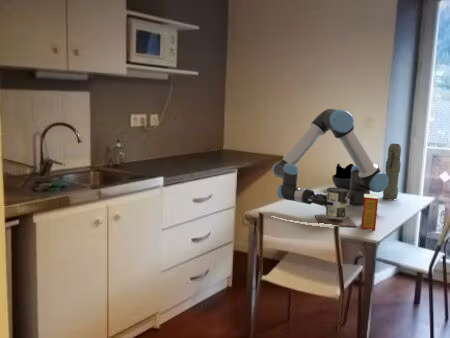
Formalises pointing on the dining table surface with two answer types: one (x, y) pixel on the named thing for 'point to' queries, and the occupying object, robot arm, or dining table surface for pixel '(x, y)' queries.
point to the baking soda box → (369, 211)
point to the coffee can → (337, 196)
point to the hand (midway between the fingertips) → (344, 203)
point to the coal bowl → (342, 176)
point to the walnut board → (336, 221)
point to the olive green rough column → (392, 171)
